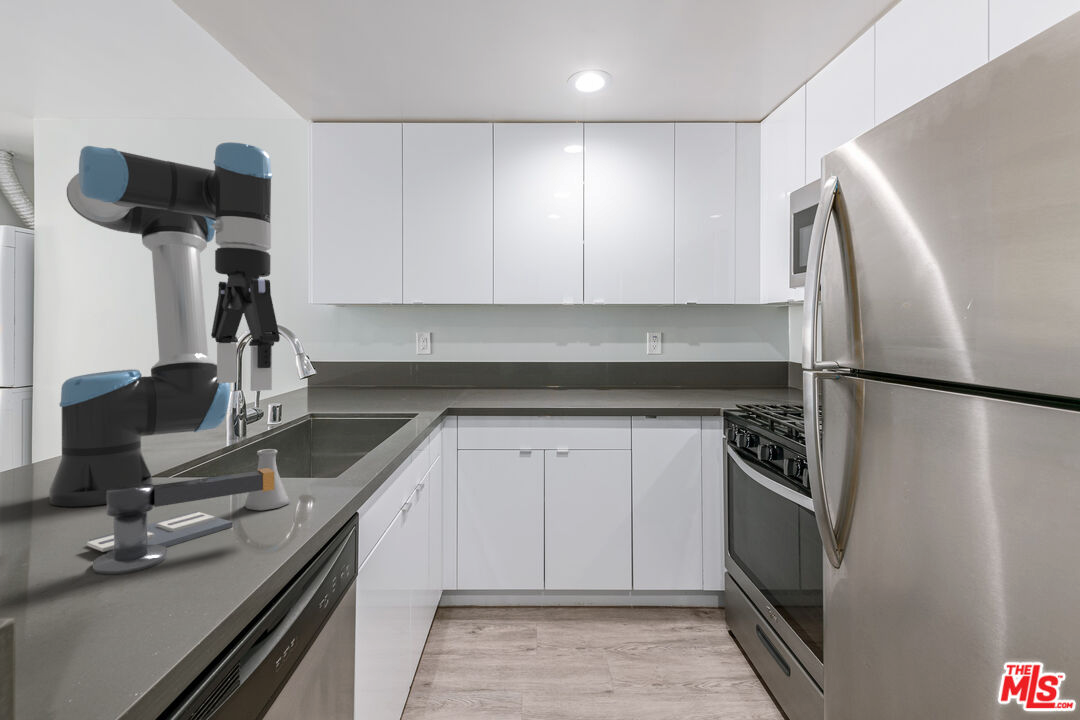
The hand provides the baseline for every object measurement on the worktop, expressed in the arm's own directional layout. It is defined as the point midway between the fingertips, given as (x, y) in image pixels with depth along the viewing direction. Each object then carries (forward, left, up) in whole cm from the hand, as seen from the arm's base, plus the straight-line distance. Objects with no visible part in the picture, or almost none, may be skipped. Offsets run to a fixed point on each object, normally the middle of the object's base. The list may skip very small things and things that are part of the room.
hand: (243, 386), depth 85 cm
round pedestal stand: (-1, -15, -23) cm, 27 cm away
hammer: (+1, -8, -16) cm, 18 cm away
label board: (-8, -8, -23) cm, 25 cm away
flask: (-8, +10, -23) cm, 26 cm away
